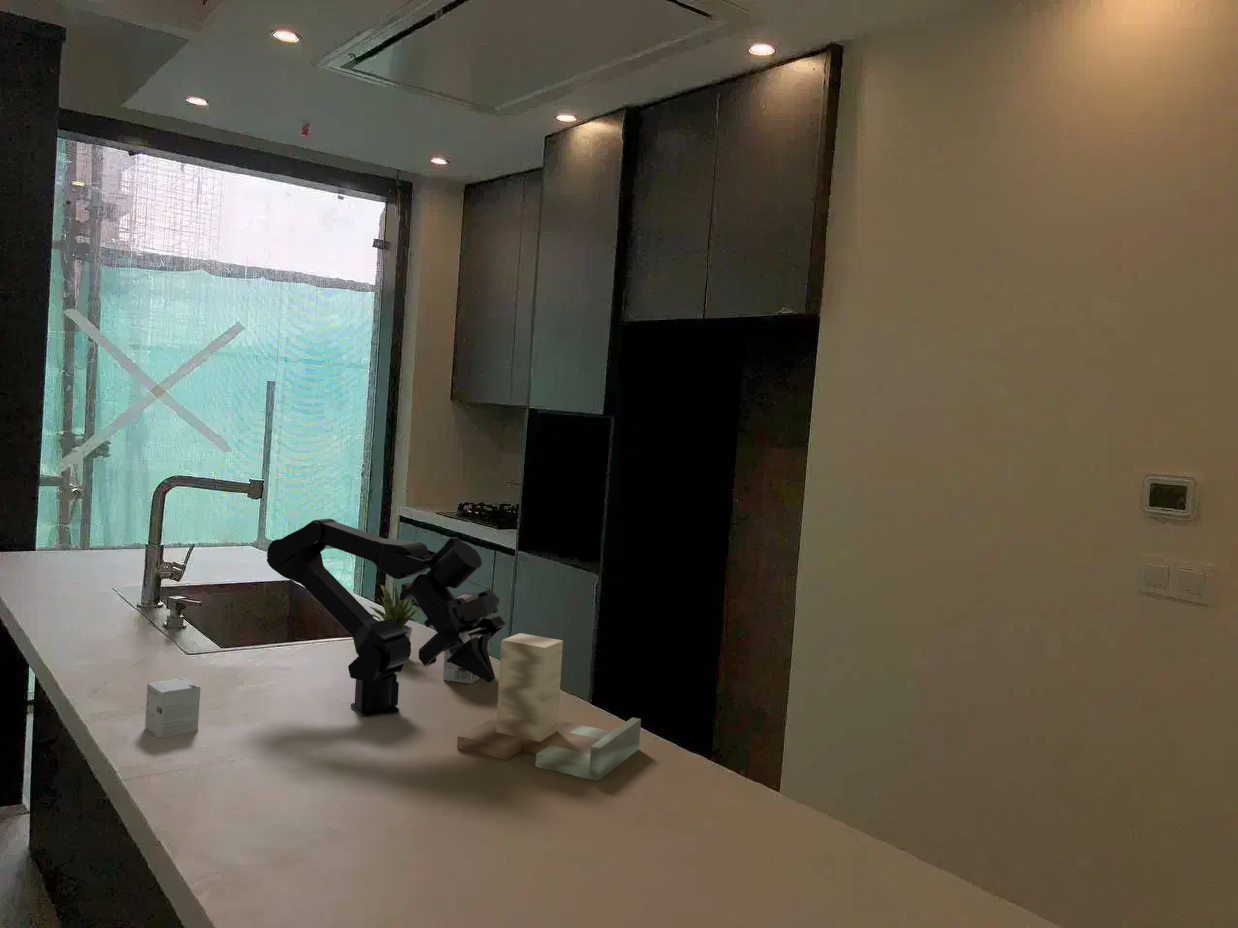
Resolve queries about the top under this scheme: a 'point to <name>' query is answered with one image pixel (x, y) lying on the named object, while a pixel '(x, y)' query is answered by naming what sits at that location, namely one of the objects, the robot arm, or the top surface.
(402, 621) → the house plant
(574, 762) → the trap runway
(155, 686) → the skincare box
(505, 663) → the beech block
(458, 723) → the top surface
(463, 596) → the coffee box
